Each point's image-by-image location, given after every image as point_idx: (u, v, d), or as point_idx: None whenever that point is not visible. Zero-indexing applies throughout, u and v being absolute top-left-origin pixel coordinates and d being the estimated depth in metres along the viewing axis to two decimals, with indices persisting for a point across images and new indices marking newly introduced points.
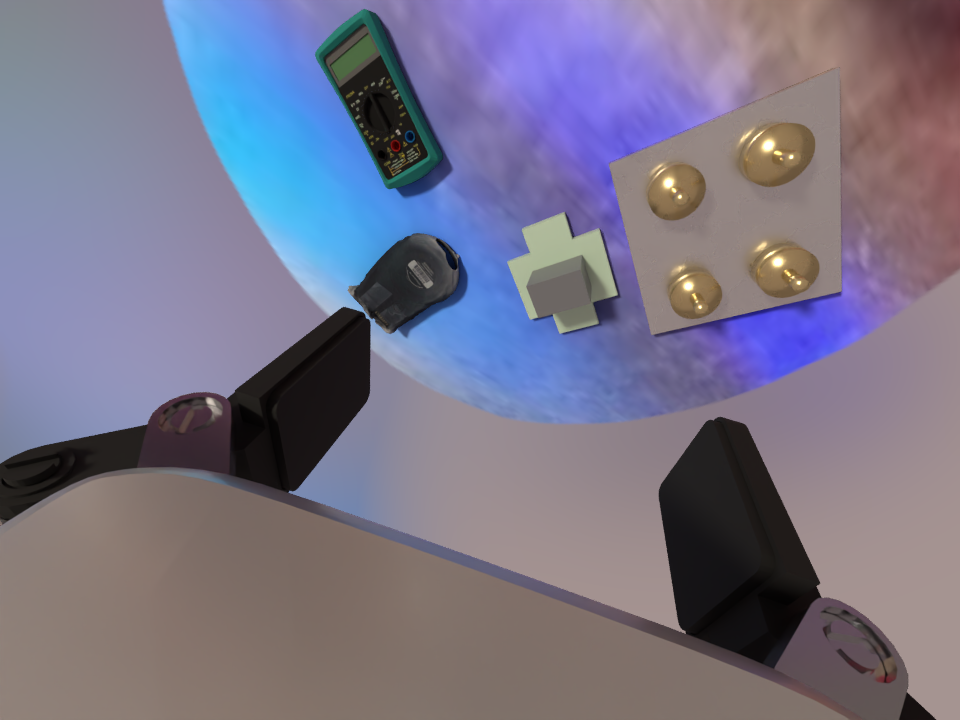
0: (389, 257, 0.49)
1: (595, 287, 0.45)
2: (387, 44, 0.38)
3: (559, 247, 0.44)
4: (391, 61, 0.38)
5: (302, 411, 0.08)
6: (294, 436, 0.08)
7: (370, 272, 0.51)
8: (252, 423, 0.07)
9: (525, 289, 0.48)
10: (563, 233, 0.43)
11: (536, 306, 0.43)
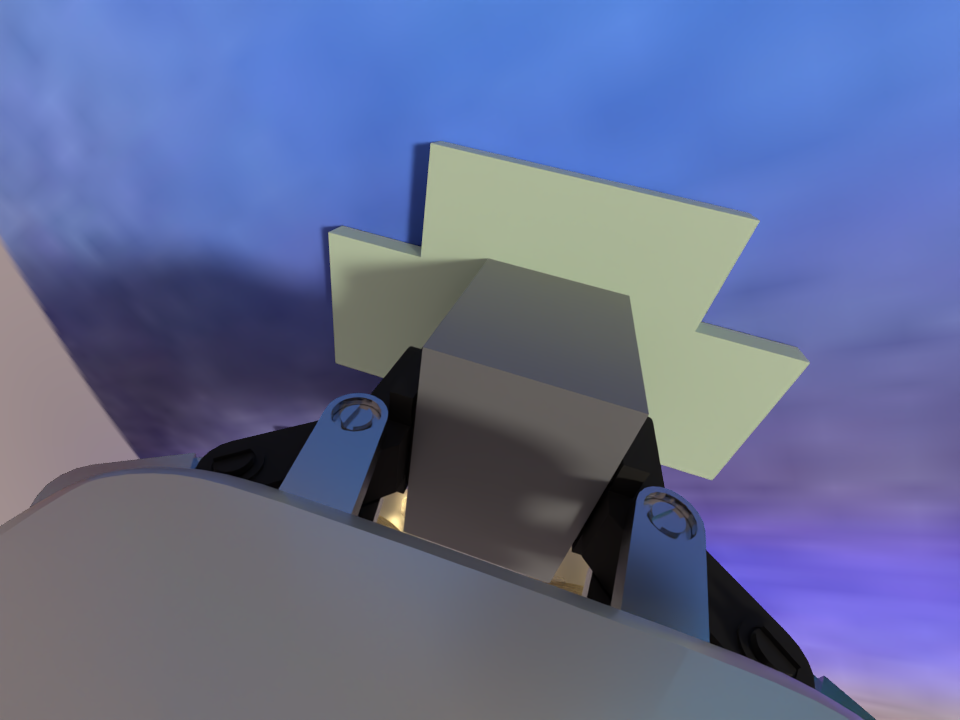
0: None
1: None
2: None
3: None
4: None
5: None
6: None
7: None
8: (398, 421, 0.08)
9: (576, 218, 0.10)
10: (661, 447, 0.13)
11: (497, 382, 0.07)
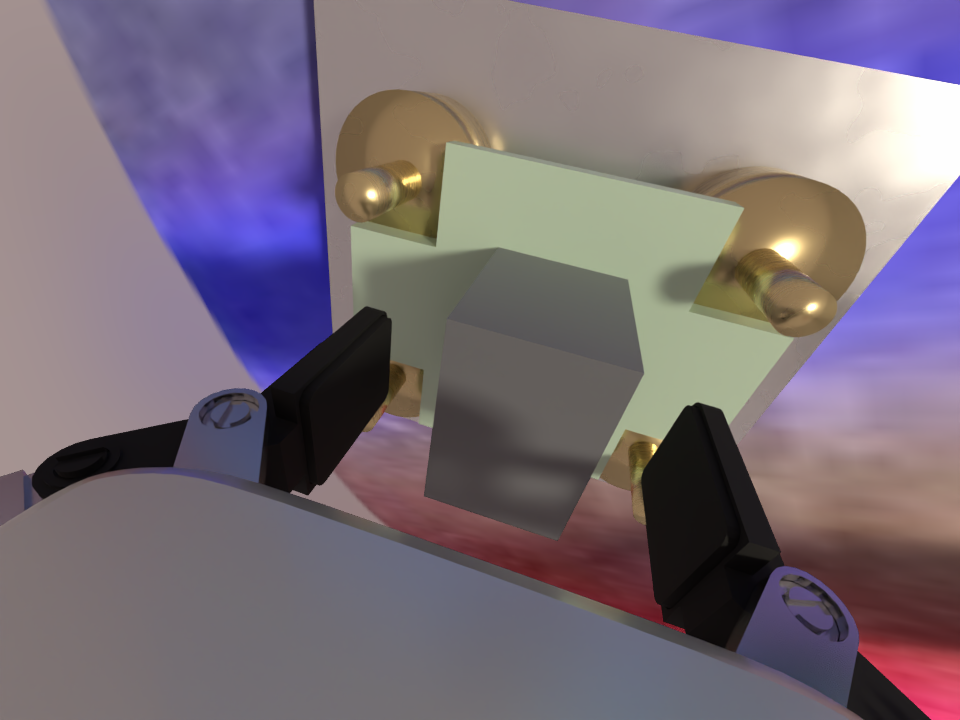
0: None
1: None
2: None
3: (633, 393, 0.13)
4: None
5: (331, 407, 0.09)
6: (323, 431, 0.08)
7: None
8: (285, 418, 0.08)
9: (578, 209, 0.11)
10: (660, 423, 0.14)
11: (511, 349, 0.08)
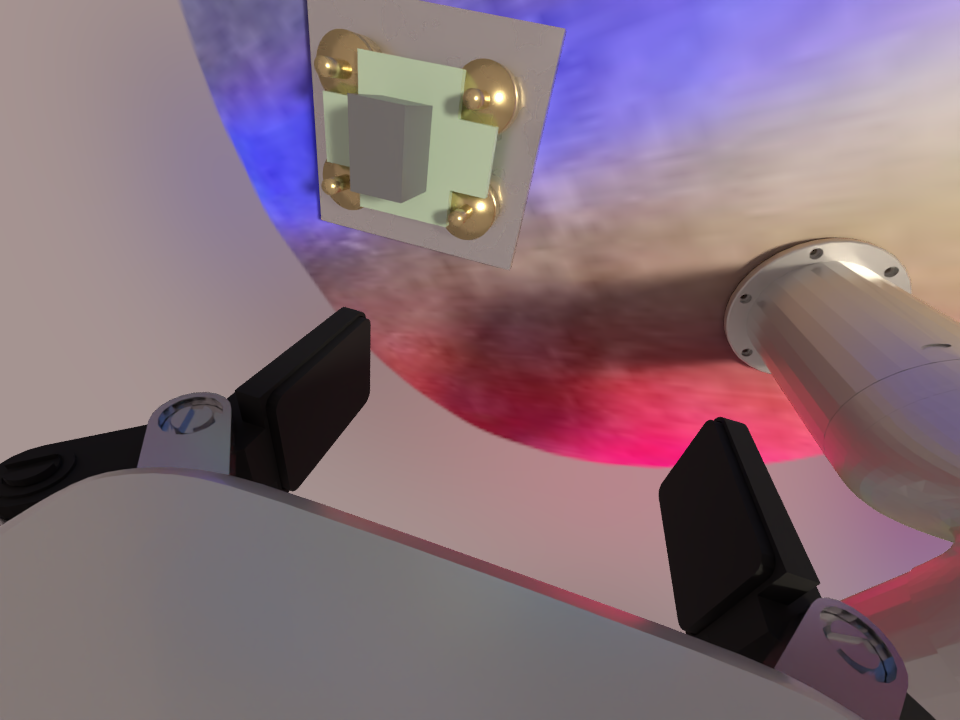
0: None
1: None
2: None
3: (448, 167, 0.30)
4: None
5: (302, 411, 0.08)
6: (294, 436, 0.08)
7: None
8: (252, 423, 0.07)
9: (408, 74, 0.28)
10: (462, 183, 0.31)
11: (367, 102, 0.25)
